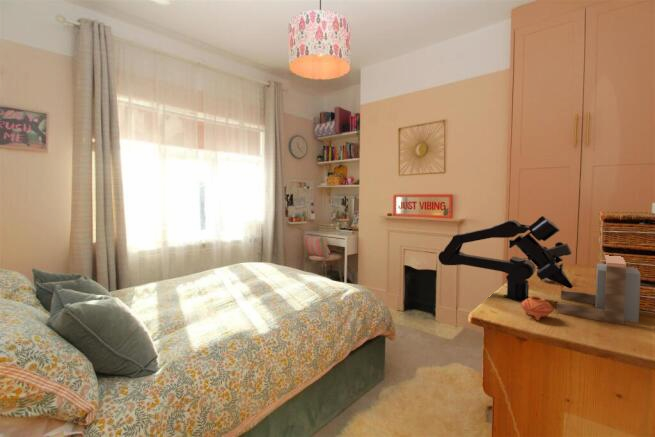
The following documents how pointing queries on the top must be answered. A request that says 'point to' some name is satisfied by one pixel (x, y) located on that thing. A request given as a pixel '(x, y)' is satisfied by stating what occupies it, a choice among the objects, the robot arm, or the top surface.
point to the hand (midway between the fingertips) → (571, 287)
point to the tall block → (630, 291)
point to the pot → (537, 307)
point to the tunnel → (612, 296)
